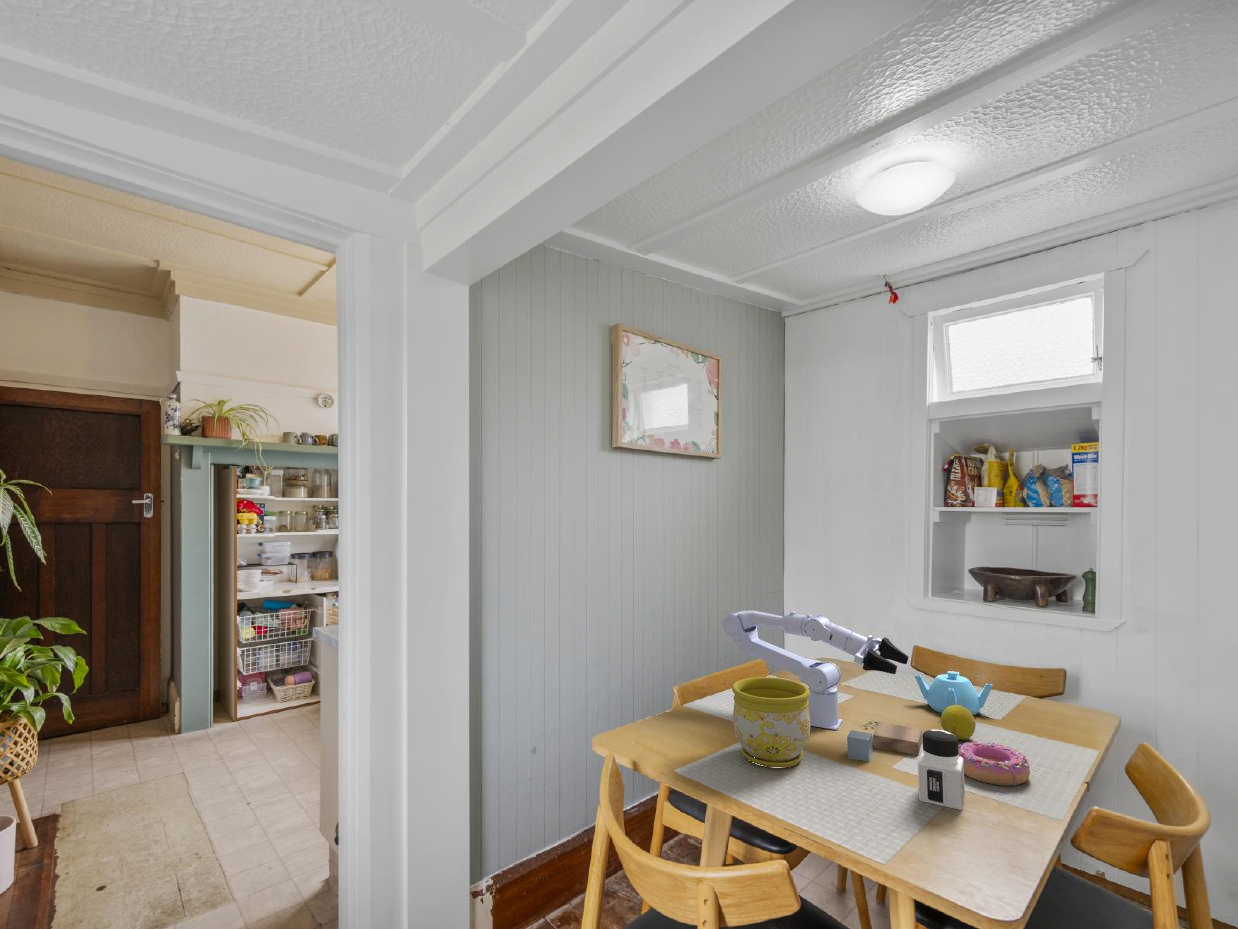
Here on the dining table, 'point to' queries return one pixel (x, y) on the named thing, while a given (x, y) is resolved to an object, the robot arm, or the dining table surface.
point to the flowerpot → (771, 720)
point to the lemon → (958, 722)
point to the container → (941, 770)
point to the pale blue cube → (859, 745)
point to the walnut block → (897, 738)
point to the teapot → (953, 692)
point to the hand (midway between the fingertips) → (901, 665)
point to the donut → (994, 763)
